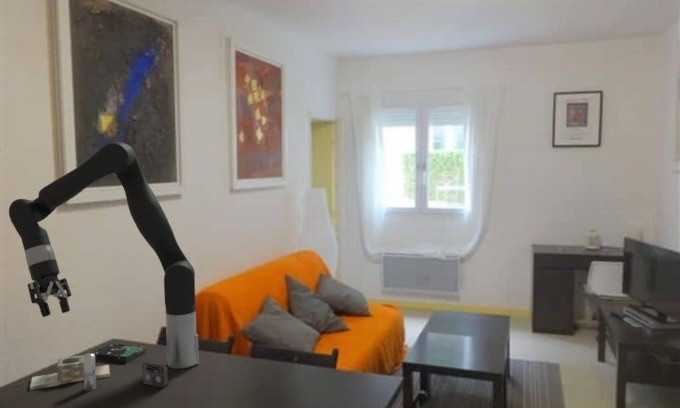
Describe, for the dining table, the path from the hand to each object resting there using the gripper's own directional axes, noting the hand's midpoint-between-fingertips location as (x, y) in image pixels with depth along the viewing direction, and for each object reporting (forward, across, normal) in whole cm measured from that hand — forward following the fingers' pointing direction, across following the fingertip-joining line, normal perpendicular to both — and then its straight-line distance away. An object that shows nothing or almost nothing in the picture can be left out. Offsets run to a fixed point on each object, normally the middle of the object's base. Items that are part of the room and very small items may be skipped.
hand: (56, 314), depth 152 cm
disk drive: (+19, +24, +1) cm, 31 cm away
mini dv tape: (+30, +3, -21) cm, 37 cm away
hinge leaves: (+20, +5, +5) cm, 21 cm away
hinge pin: (+24, -1, -5) cm, 24 cm away
